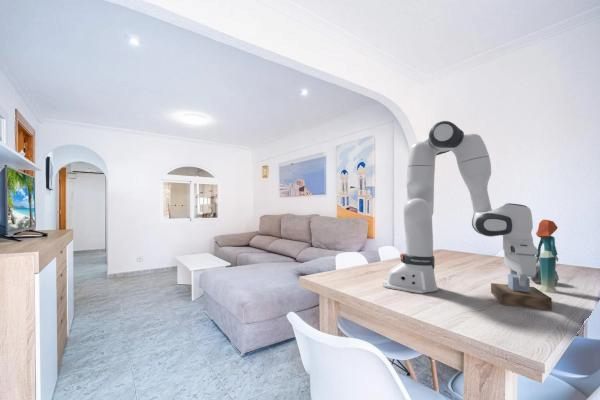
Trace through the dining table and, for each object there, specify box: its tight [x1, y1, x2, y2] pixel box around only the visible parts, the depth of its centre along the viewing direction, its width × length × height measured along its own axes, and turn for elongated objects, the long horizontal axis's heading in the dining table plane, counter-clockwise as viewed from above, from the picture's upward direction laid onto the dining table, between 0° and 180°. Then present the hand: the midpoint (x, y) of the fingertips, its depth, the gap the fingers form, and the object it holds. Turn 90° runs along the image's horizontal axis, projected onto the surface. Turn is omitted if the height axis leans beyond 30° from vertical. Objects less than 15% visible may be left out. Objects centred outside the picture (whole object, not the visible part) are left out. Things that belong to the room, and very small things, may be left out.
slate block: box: [507, 273, 531, 292], centre depth 100 cm, size 5×5×5 cm
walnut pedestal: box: [490, 282, 553, 311], centre depth 100 cm, size 14×14×4 cm
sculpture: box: [535, 219, 559, 294], centre depth 113 cm, size 13×7×30 cm, turn 168°
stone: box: [529, 262, 560, 285], centre depth 124 cm, size 10×10×10 cm
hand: (518, 283), depth 100 cm, fingers open, 5 cm apart
